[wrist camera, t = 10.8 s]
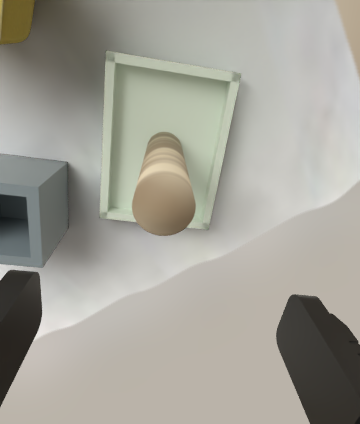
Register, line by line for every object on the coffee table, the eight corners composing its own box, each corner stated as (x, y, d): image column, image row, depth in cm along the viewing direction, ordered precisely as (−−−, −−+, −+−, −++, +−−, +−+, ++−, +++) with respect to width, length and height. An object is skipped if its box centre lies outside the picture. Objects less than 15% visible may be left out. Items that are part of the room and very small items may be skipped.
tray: (110, 53, 27) (105, 50, 25) (235, 73, 28) (241, 73, 26) (103, 208, 33) (99, 218, 31) (205, 220, 35) (208, 229, 32)
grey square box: (-12, 152, 30) (-67, 174, 23) (67, 162, 31) (38, 187, 24) (-3, 220, 33) (-50, 259, 26) (68, 227, 34) (42, 267, 27)
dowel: (148, 129, 29) (134, 173, 15) (184, 134, 29) (200, 181, 16) (145, 164, 31) (129, 232, 17) (179, 168, 31) (190, 238, 17)
